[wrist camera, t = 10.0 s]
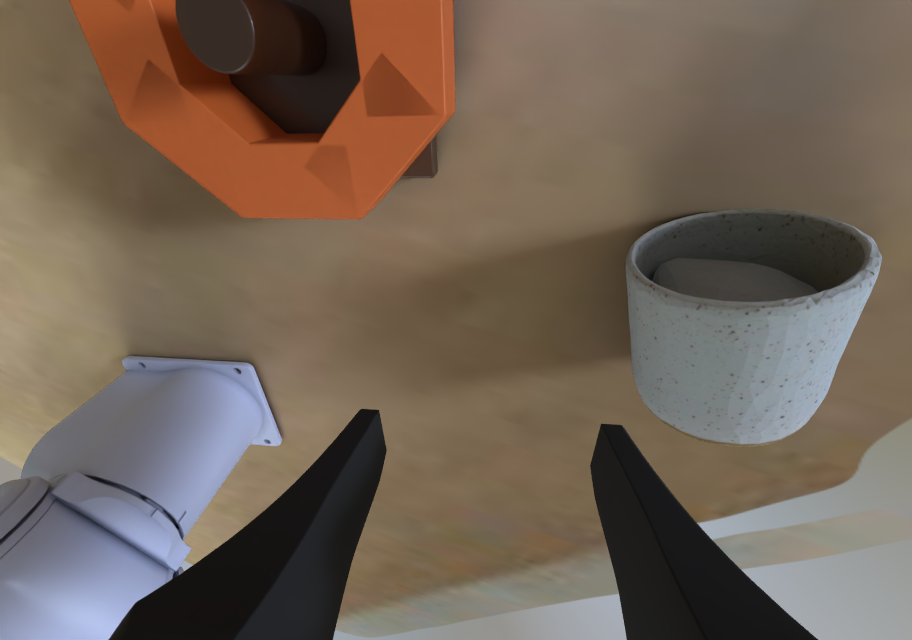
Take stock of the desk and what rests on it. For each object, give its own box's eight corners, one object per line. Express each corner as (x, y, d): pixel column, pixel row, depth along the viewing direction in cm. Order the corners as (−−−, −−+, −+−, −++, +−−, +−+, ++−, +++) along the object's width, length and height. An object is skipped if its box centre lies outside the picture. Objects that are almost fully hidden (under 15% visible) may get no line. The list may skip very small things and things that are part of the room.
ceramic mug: (617, 363, 22) (667, 479, 16) (604, 233, 18) (665, 316, 12) (829, 329, 20) (989, 449, 13) (868, 170, 16) (1125, 232, 9)
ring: (210, 198, 18) (163, 217, 16) (69, -190, 12) (-48, -262, 9) (457, 200, 17) (449, 221, 15) (448, -232, 11) (431, -328, 8)
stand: (237, 172, 19) (134, 208, 13) (144, -128, 13) (-86, -260, 8) (437, 172, 18) (410, 211, 12) (424, -151, 12) (365, -319, 7)
